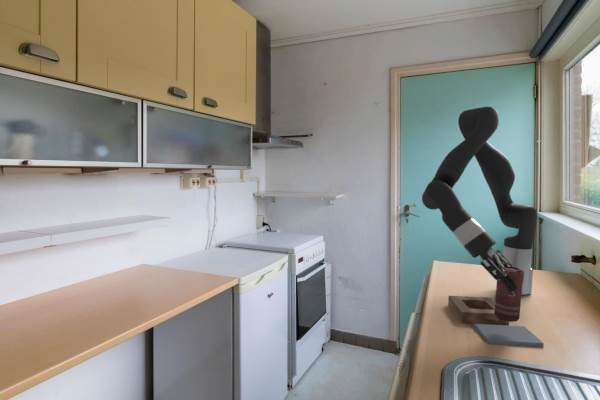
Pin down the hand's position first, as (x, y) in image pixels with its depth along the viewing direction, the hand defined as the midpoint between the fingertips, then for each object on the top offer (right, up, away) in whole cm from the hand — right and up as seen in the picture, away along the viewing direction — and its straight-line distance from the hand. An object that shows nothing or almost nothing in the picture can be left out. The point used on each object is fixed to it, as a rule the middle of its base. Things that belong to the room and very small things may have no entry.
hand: (516, 286), depth 99 cm
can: (-1, -9, +2) cm, 10 cm away
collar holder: (-3, -13, +17) cm, 21 cm away
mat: (-1, -14, +3) cm, 15 cm away
